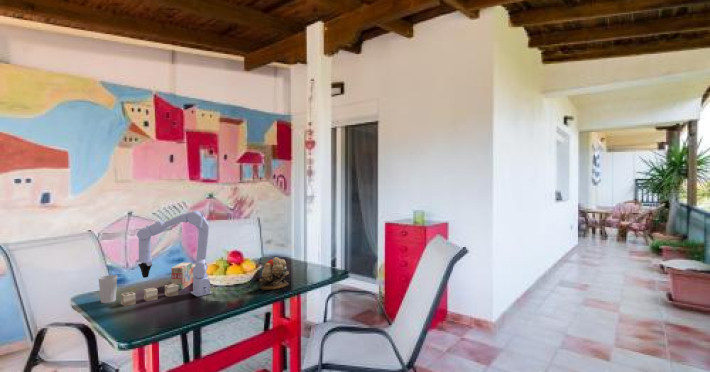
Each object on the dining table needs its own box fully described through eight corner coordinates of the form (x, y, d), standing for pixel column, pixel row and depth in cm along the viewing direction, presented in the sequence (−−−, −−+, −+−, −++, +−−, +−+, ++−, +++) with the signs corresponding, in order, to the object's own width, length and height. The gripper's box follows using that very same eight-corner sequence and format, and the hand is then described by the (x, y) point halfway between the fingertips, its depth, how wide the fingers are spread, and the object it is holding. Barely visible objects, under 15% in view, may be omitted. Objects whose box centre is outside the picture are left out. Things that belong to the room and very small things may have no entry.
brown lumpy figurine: (282, 281, 221) (283, 253, 221) (294, 286, 213) (294, 256, 212) (255, 287, 209) (255, 257, 208) (266, 292, 200) (266, 261, 200)
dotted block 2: (178, 294, 196) (178, 285, 196) (168, 297, 193) (168, 287, 192) (174, 292, 200) (174, 283, 200) (164, 294, 196) (164, 285, 196)
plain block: (157, 299, 189) (157, 289, 189) (146, 301, 186) (146, 291, 185) (154, 297, 193) (154, 287, 192) (143, 299, 189) (143, 289, 189)
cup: (121, 299, 189) (121, 275, 188) (106, 304, 181) (106, 279, 181) (110, 297, 191) (109, 274, 191) (94, 302, 184) (94, 278, 184)
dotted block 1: (135, 303, 182) (135, 293, 182) (124, 306, 178) (123, 296, 178) (132, 301, 186) (132, 291, 185) (121, 303, 182) (121, 293, 182)
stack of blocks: (188, 278, 227) (188, 258, 227) (199, 278, 227) (198, 258, 227) (171, 289, 205) (171, 267, 205) (182, 289, 205) (182, 267, 205)
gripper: (132, 250, 194) (132, 275, 194) (140, 254, 183) (140, 281, 184) (147, 248, 199) (147, 273, 199) (156, 252, 188) (156, 278, 189)
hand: (145, 277), depth 192 cm, fingers closed
